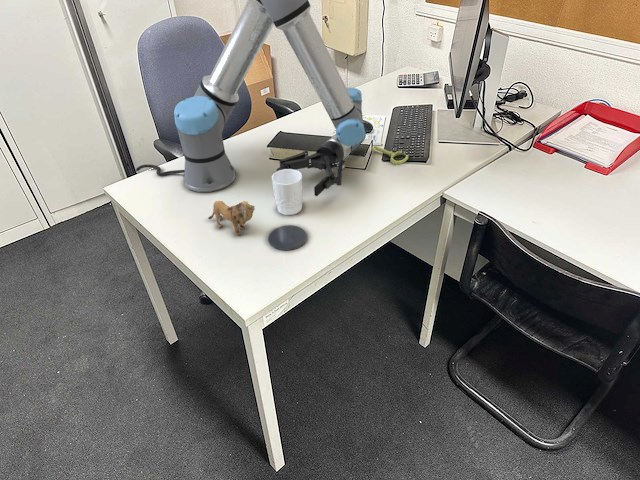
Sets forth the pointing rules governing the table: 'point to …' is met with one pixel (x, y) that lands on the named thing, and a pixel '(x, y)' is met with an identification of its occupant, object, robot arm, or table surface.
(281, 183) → the white cup
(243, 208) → the lion figurine
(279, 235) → the slate coaster
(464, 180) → the table surface
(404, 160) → the key
